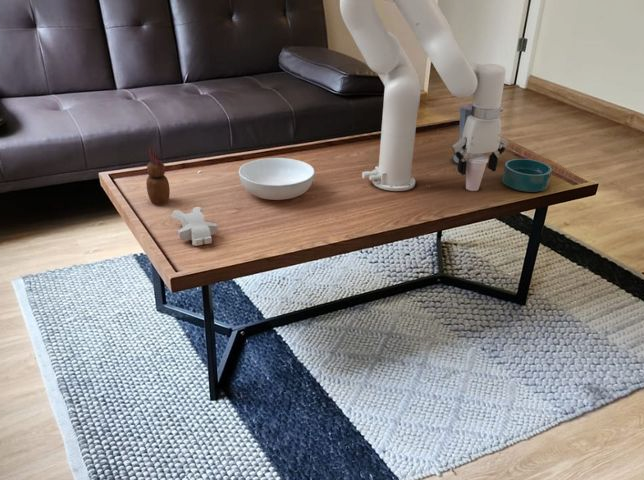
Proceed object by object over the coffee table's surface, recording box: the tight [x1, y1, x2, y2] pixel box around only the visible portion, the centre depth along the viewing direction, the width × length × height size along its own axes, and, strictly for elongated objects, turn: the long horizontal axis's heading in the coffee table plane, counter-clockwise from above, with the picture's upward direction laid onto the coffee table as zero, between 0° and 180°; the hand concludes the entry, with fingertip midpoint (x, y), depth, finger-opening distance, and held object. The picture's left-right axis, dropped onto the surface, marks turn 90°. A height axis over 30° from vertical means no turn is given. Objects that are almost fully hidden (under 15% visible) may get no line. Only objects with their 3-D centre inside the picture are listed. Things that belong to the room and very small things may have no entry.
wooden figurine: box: [146, 145, 171, 206], centre depth 169 cm, size 7×6×15 cm
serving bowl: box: [238, 157, 316, 201], centre depth 178 cm, size 21×21×7 cm
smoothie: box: [465, 153, 489, 192], centre depth 184 cm, size 6×6×14 cm
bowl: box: [501, 158, 553, 193], centre depth 190 cm, size 13×13×6 cm
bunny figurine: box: [171, 206, 219, 247], centre depth 156 cm, size 10×5×15 cm
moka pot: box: [453, 103, 472, 164], centre depth 200 cm, size 10×15×20 cm, turn 174°
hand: (476, 171), depth 185 cm, fingers open, 9 cm apart
